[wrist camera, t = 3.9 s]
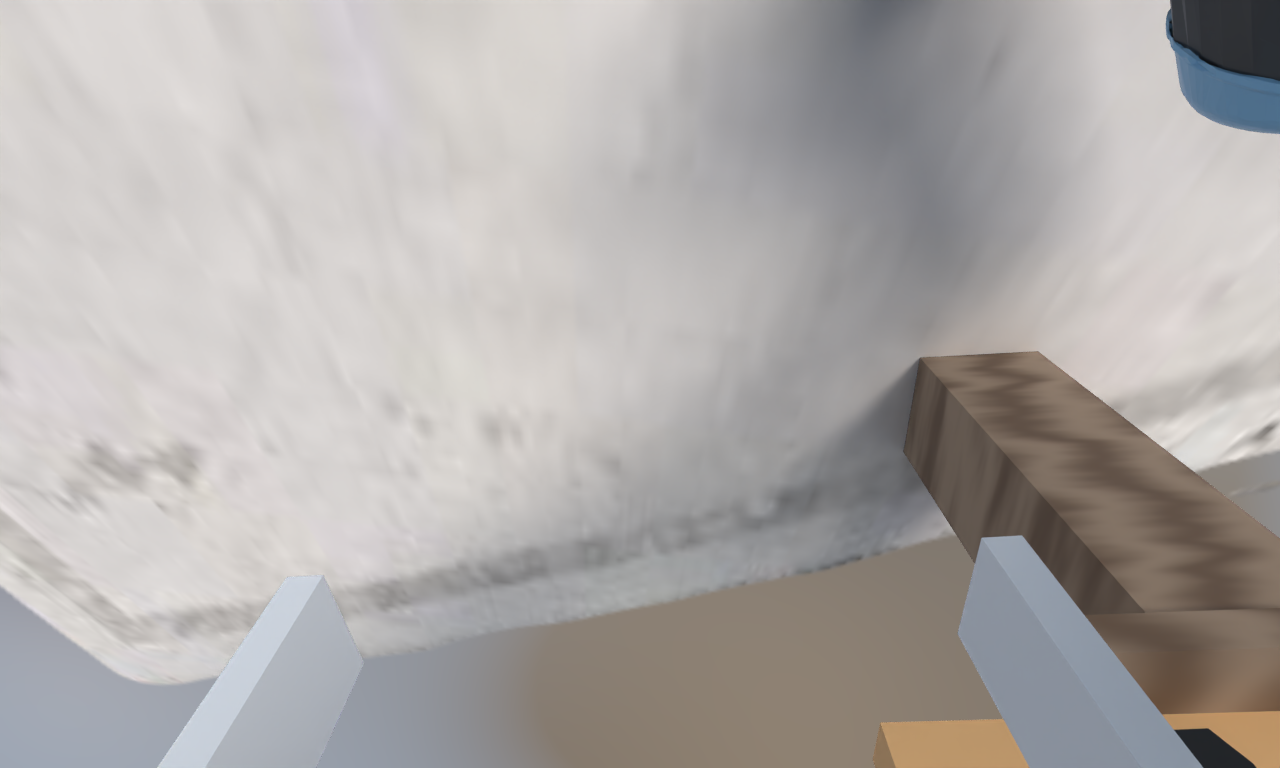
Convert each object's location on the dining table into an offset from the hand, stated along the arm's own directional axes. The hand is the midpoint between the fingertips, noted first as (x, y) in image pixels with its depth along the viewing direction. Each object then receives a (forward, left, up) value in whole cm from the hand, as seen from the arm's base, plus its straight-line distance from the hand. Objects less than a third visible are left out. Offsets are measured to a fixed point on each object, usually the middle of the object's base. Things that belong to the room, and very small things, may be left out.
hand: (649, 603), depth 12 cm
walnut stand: (+34, +6, -39) cm, 52 cm away
